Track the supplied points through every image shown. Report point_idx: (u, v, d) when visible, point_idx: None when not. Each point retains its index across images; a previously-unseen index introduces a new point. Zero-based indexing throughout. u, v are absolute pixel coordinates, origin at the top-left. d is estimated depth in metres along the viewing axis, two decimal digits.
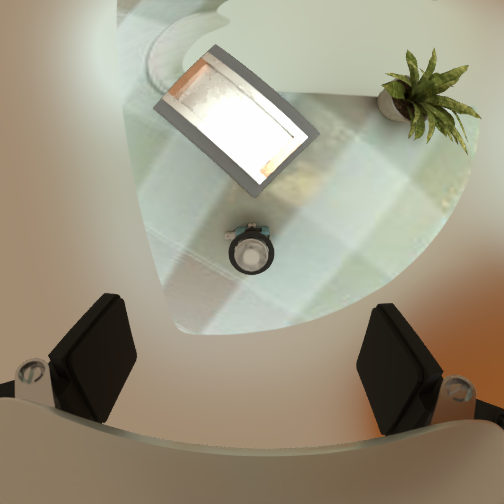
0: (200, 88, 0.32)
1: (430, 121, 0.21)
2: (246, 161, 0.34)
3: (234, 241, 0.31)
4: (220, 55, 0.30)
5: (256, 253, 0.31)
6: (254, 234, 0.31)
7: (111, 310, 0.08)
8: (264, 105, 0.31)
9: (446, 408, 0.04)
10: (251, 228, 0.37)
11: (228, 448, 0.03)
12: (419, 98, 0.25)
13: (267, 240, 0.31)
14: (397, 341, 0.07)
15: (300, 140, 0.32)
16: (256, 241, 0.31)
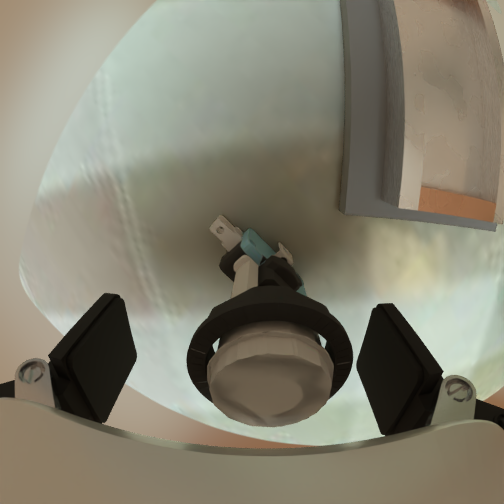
0: None
1: None
2: (421, 143, 0.10)
3: (267, 308, 0.07)
4: None
5: (295, 399, 0.07)
6: (339, 340, 0.07)
7: (111, 310, 0.08)
8: (503, 116, 0.09)
9: (446, 408, 0.04)
10: (290, 268, 0.13)
11: (228, 448, 0.03)
12: None
13: (343, 375, 0.08)
14: (397, 341, 0.07)
15: (495, 217, 0.11)
16: (327, 366, 0.07)
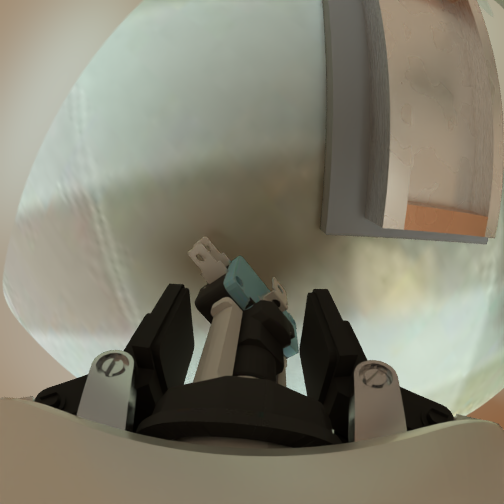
0: None
1: None
2: (407, 158, 0.10)
3: (238, 428, 0.04)
4: None
5: None
6: None
7: (182, 299, 0.09)
8: (495, 124, 0.09)
9: (367, 398, 0.05)
10: (282, 320, 0.10)
11: (228, 448, 0.03)
12: None
13: None
14: (319, 323, 0.08)
15: (487, 231, 0.11)
16: None
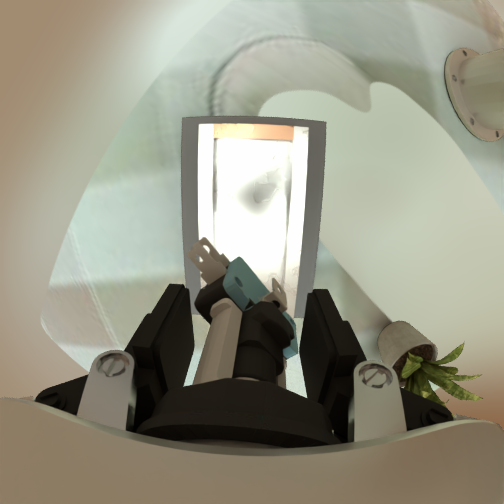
0: (252, 156, 0.23)
1: None
2: None
3: (238, 431, 0.04)
4: (315, 141, 0.23)
5: None
6: None
7: (182, 299, 0.09)
8: (290, 256, 0.24)
9: (367, 398, 0.05)
10: (282, 321, 0.10)
11: (228, 448, 0.03)
12: None
13: None
14: (319, 323, 0.08)
15: None
16: None
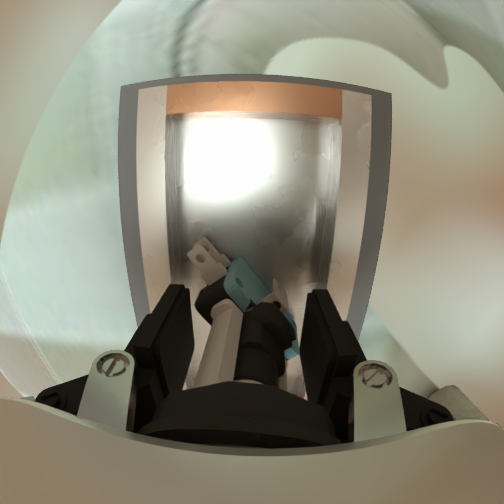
0: (251, 152, 0.11)
1: None
2: (183, 389, 0.13)
3: (241, 436, 0.04)
4: (374, 127, 0.11)
5: None
6: None
7: (182, 299, 0.09)
8: None
9: (367, 398, 0.05)
10: (283, 322, 0.10)
11: (228, 448, 0.03)
12: None
13: None
14: (318, 323, 0.08)
15: None
16: None
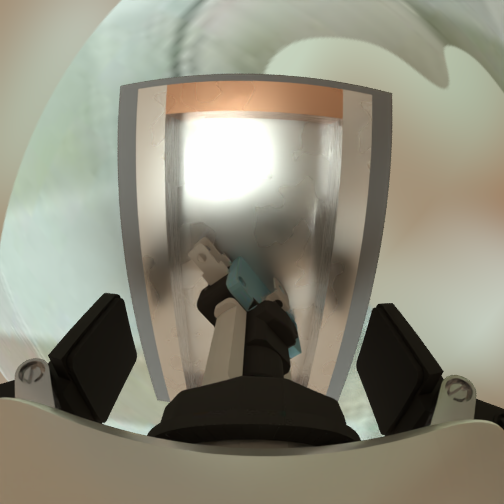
0: (251, 152, 0.11)
1: None
2: None
3: (260, 429, 0.04)
4: (374, 127, 0.11)
5: None
6: None
7: (111, 310, 0.08)
8: (322, 347, 0.12)
9: (446, 408, 0.04)
10: (286, 320, 0.10)
11: (228, 448, 0.03)
12: None
13: None
14: (397, 341, 0.07)
15: None
16: None
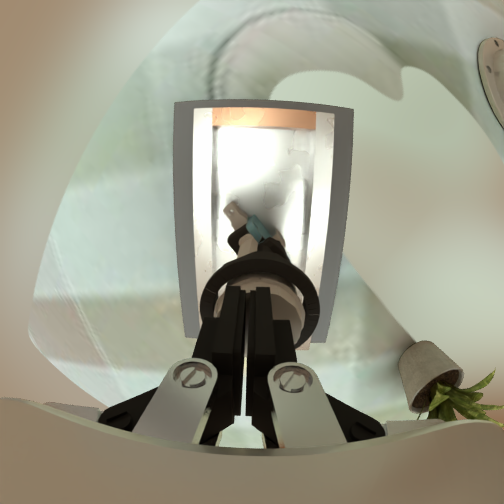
0: (261, 149, 0.18)
1: None
2: None
3: (263, 263, 0.11)
4: (340, 132, 0.17)
5: None
6: (310, 294, 0.11)
7: (244, 301, 0.09)
8: (309, 275, 0.19)
9: (289, 406, 0.05)
10: (282, 248, 0.17)
11: (228, 448, 0.03)
12: (443, 408, 0.18)
13: (312, 325, 0.12)
14: None
15: None
16: (300, 312, 0.11)
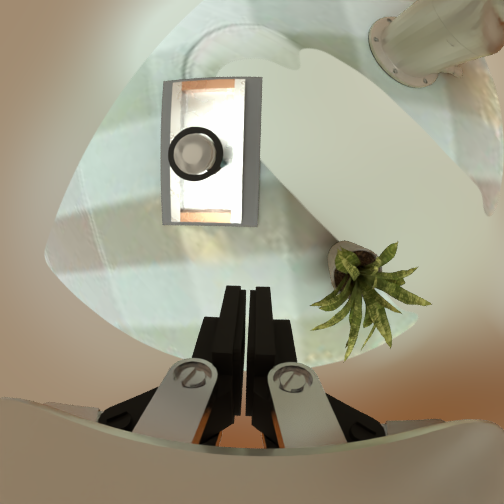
0: (208, 102, 0.30)
1: (337, 316, 0.26)
2: (178, 196, 0.32)
3: (195, 128, 0.23)
4: (254, 90, 0.30)
5: (199, 155, 0.23)
6: (217, 141, 0.24)
7: (244, 301, 0.09)
8: (234, 167, 0.31)
9: (289, 406, 0.05)
10: None
11: (228, 448, 0.03)
12: None
13: (220, 158, 0.24)
14: (249, 320, 0.08)
15: (232, 220, 0.33)
16: (211, 147, 0.23)
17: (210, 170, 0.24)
